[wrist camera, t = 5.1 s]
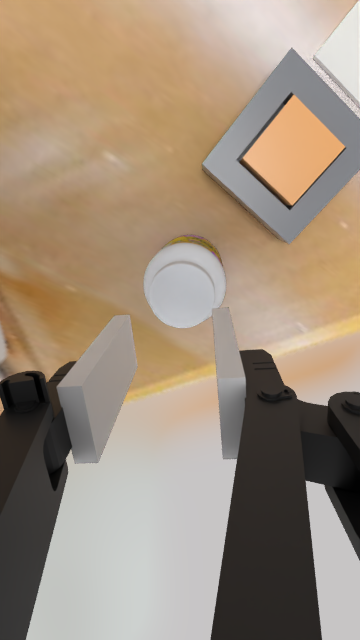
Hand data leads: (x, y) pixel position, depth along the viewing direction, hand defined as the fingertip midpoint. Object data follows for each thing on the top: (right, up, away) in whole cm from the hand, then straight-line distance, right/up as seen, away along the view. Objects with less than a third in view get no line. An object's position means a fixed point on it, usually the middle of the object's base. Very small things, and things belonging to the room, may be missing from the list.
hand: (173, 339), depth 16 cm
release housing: (+10, +16, +16) cm, 24 cm away
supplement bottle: (+1, +7, +20) cm, 21 cm away
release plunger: (+10, +15, +14) cm, 23 cm away
